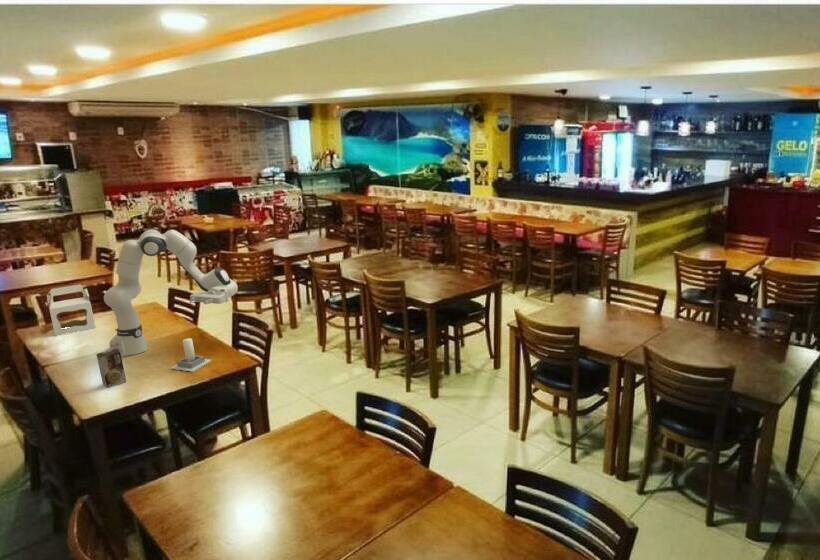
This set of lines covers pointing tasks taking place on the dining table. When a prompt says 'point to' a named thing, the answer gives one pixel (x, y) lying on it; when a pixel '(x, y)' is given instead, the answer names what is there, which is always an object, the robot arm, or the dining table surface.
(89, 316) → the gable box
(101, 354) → the coffee box
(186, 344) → the peg
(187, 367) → the socket
